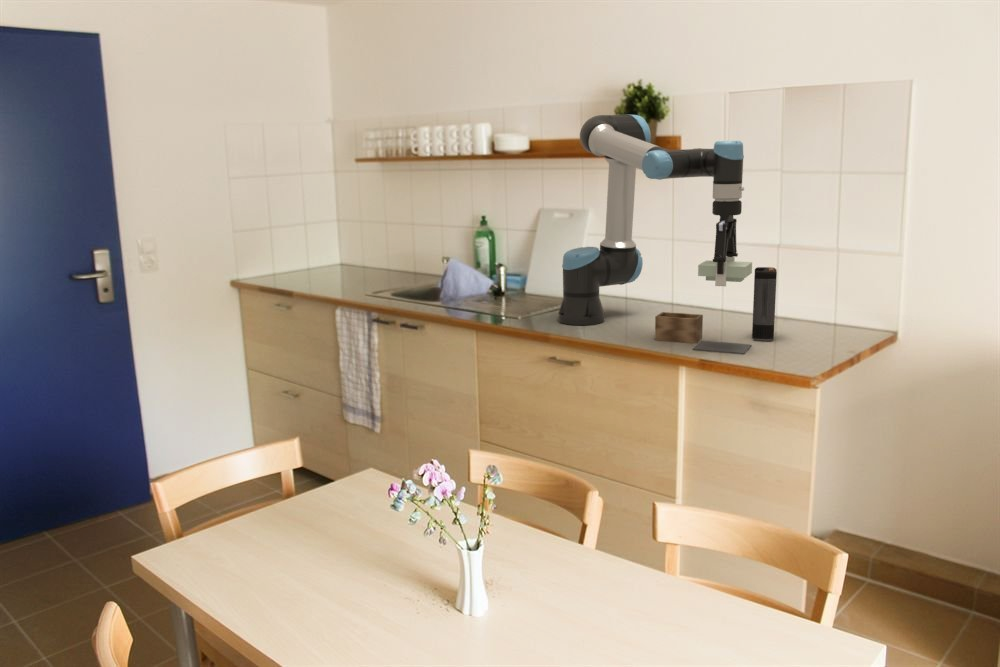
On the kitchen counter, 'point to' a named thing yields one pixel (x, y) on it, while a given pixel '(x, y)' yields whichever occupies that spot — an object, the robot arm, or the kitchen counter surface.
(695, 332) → the crate
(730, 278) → the block
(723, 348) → the mat
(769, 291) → the electronic device
